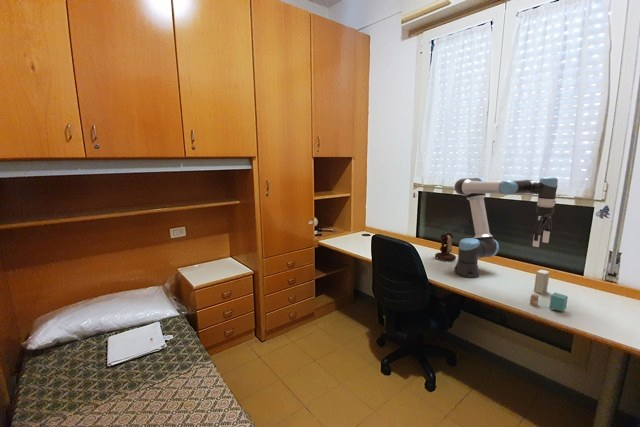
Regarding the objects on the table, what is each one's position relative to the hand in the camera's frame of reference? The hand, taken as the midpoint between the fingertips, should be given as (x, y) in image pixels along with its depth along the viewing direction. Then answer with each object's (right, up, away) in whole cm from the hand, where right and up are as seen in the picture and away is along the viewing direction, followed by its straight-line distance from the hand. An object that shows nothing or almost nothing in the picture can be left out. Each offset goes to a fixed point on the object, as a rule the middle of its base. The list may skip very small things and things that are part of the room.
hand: (540, 244), depth 160 cm
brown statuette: (-24, -18, +65) cm, 72 cm away
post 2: (-2, -31, -13) cm, 34 cm away
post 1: (-9, -30, -8) cm, 33 cm away
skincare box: (+6, -28, +8) cm, 30 cm away
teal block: (-2, -30, -14) cm, 33 cm away
